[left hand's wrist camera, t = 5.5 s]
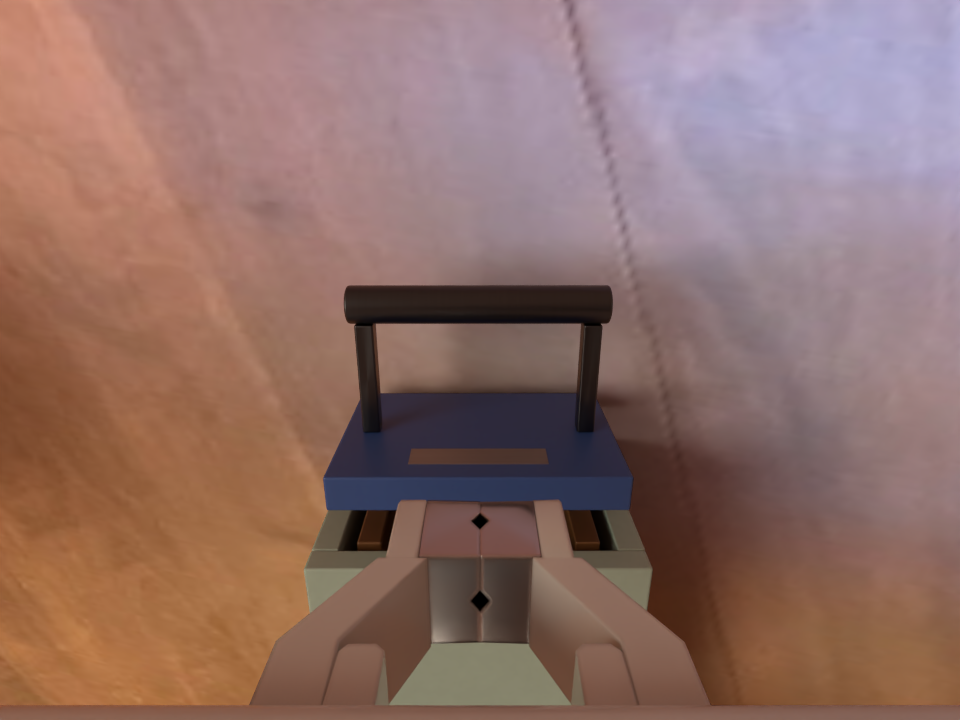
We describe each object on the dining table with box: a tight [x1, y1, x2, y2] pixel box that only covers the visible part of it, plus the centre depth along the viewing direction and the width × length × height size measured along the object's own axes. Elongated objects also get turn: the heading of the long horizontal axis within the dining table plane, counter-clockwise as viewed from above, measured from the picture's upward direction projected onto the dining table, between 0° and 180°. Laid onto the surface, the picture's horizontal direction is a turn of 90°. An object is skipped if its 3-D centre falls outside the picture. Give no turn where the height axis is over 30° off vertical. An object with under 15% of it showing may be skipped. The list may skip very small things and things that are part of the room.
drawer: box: [323, 285, 633, 551], centre depth 22 cm, size 23×9×6 cm, turn 0°
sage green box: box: [304, 510, 653, 705], centre depth 24 cm, size 19×11×8 cm, turn 0°
